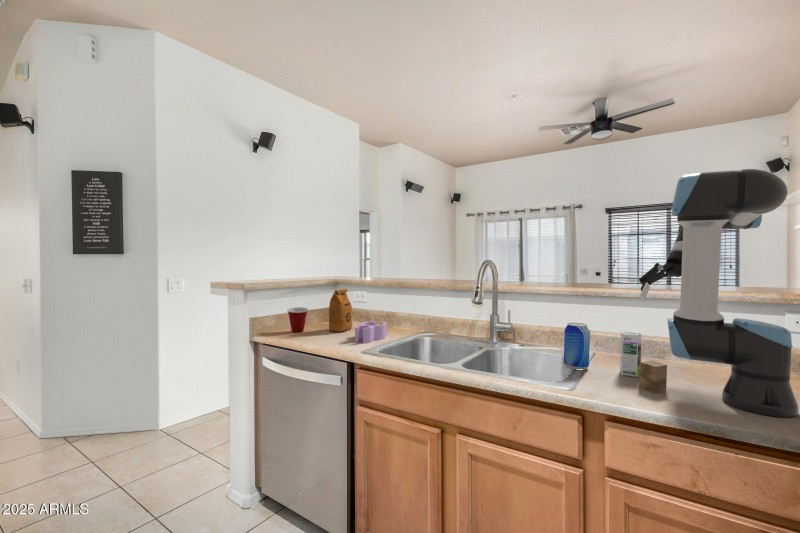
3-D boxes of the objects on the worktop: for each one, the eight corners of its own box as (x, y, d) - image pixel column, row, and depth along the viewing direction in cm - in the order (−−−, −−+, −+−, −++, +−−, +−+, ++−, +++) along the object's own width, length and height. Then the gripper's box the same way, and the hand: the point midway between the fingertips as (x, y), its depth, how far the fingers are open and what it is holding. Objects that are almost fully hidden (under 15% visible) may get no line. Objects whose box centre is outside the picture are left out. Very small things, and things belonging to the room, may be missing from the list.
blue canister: (558, 365, 139) (559, 323, 139) (573, 363, 143) (574, 321, 143) (578, 372, 132) (579, 327, 131) (594, 369, 136) (595, 325, 135)
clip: (371, 344, 170) (371, 329, 170) (348, 341, 175) (348, 326, 175) (391, 336, 188) (391, 322, 188) (369, 333, 193) (369, 320, 193)
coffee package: (355, 329, 203) (355, 288, 202) (341, 333, 192) (341, 290, 191) (340, 327, 207) (340, 287, 207) (326, 331, 196) (326, 289, 196)
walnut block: (666, 391, 114) (667, 365, 114) (654, 393, 113) (655, 366, 112) (650, 385, 119) (651, 360, 119) (639, 387, 117) (639, 362, 117)
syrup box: (620, 375, 129) (622, 333, 129) (619, 370, 134) (621, 330, 134) (640, 377, 127) (641, 335, 126) (638, 373, 132) (640, 332, 131)
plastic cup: (286, 334, 188) (286, 310, 188) (287, 330, 199) (287, 307, 198) (308, 333, 191) (308, 310, 190) (308, 329, 201) (308, 307, 201)
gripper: (725, 264, 133) (707, 312, 127) (648, 260, 154) (629, 302, 147) (721, 250, 130) (702, 299, 123) (642, 248, 151) (622, 290, 144)
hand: (662, 301), depth 135 cm, fingers open, 13 cm apart
